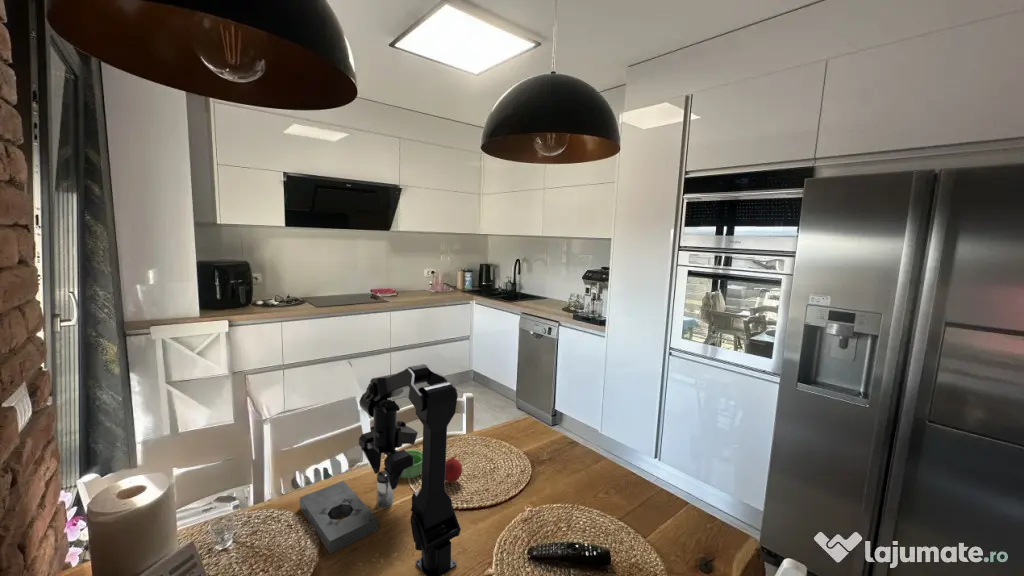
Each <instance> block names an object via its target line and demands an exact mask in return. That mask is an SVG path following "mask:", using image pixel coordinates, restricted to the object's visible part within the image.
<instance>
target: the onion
mask: <svg viewBox="0 0 1024 576" xmlns="http://www.w3.org/2000/svg"><path fill="white" fill-rule="evenodd" d="M462 466H463V465H462V464H461V462H460V461H459V460H457V458H455V456H454V455H451V456H450V457H449V459H446V469H445V482H448V483H450V484H453V483H456V482H457V481H458V480H459V479H460V478H461V476H462V473H463V467H462Z"/></svg>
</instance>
